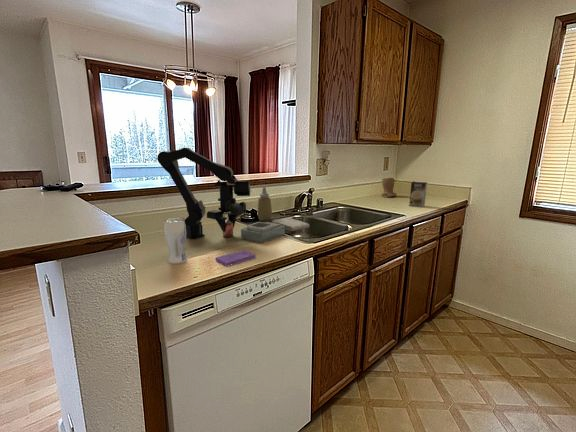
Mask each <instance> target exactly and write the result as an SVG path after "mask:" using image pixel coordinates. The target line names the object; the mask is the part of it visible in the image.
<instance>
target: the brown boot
mask: <svg viewBox="0 0 576 432" xmlns="http://www.w3.org/2000/svg"><path fill="white" fill-rule="evenodd" d="M381 185H382V189H383V192H382V193H381V194H380V196H381V197H384V198H390V197H394V196H396V195H398V193H396V192H394V187H395V178H394V177H385V178H382V179H381Z"/></svg>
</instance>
